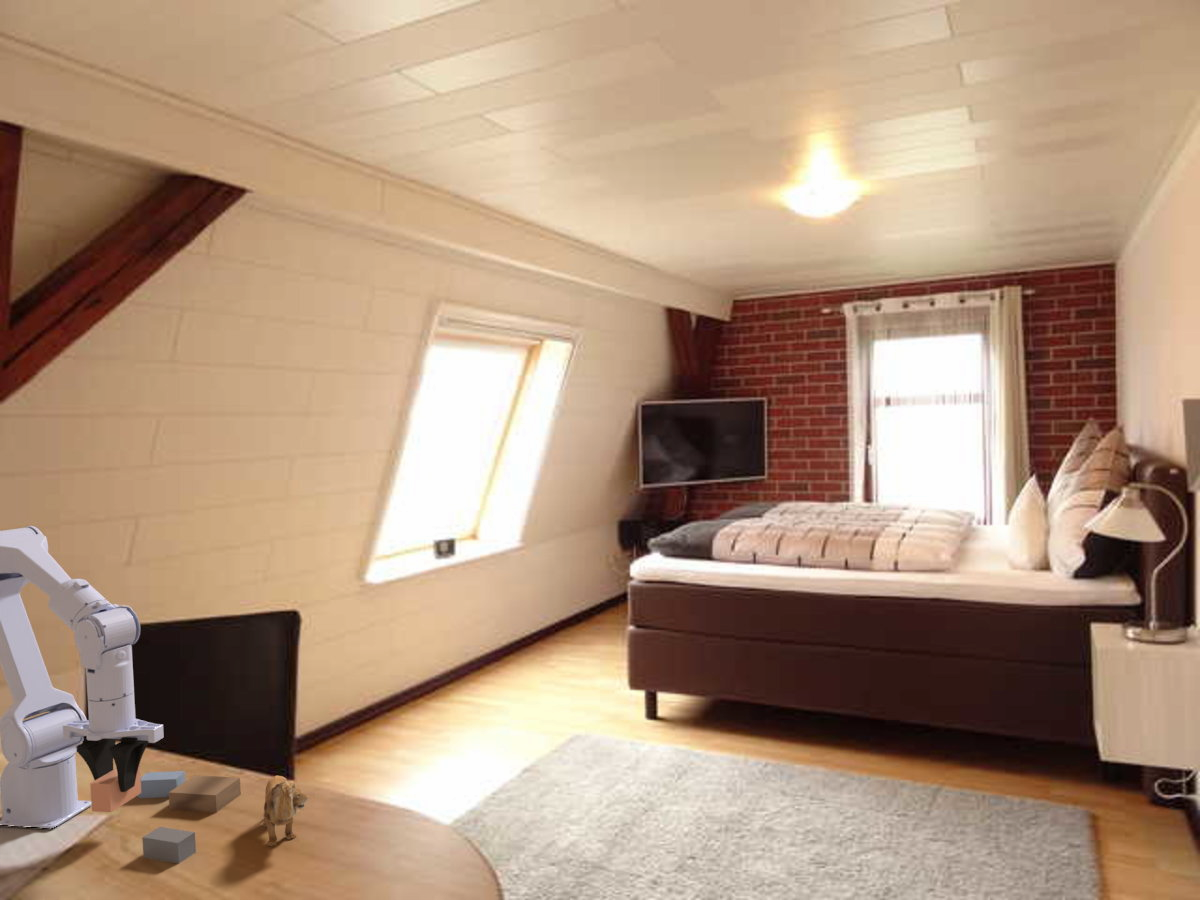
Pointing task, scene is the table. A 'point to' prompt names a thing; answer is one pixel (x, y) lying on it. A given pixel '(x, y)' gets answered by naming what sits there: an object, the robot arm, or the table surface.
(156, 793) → the slate-blue brick
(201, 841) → the table surface
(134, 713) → the robot arm
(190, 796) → the walnut block
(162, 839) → the gray brick
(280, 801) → the lion figurine
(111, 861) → the table surface
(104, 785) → the terracotta brick
